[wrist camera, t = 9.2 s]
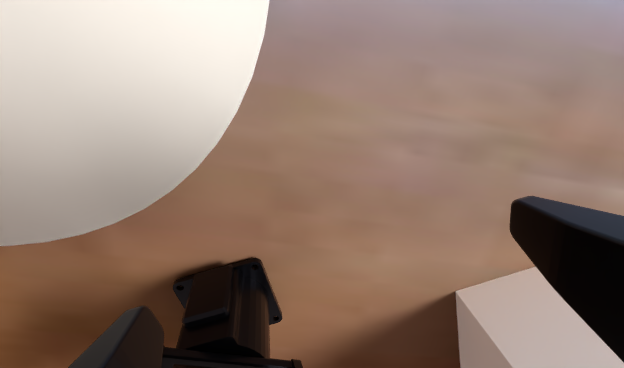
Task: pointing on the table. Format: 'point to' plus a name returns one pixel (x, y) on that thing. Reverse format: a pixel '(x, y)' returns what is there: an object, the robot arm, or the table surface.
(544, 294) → the milk
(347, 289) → the table surface
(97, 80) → the lid
